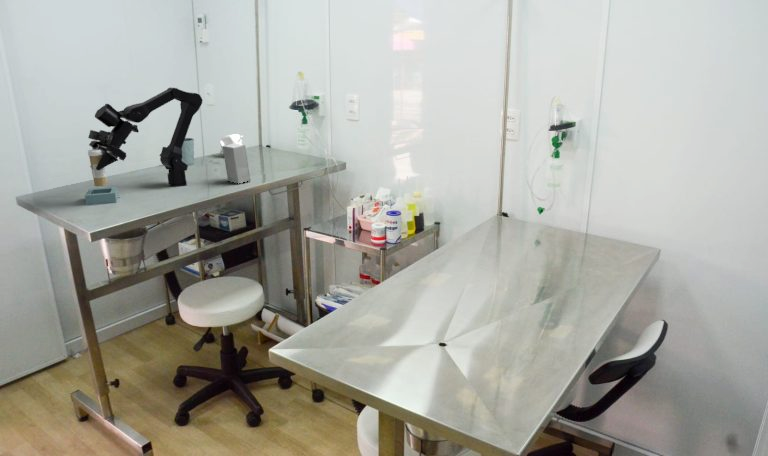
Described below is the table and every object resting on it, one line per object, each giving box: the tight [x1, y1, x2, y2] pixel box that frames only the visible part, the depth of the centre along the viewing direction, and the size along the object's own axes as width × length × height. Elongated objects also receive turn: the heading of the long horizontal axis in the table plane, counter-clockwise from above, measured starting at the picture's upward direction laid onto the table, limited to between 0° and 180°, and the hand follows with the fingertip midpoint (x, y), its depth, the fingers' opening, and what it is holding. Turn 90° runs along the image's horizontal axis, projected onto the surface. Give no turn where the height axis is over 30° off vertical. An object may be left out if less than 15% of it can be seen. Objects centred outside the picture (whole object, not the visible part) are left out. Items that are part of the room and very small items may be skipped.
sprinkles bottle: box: [87, 149, 108, 188], centre depth 205 cm, size 5×5×13 cm
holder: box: [84, 186, 120, 206], centre depth 208 cm, size 10×10×4 cm
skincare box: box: [222, 144, 252, 185], centre depth 232 cm, size 8×7×16 cm
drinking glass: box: [182, 137, 195, 167], centre depth 265 cm, size 10×10×12 cm
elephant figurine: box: [219, 133, 244, 156], centre depth 280 cm, size 12×18×12 cm
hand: (94, 168), depth 204 cm, fingers closed on sprinkles bottle, 4 cm apart
